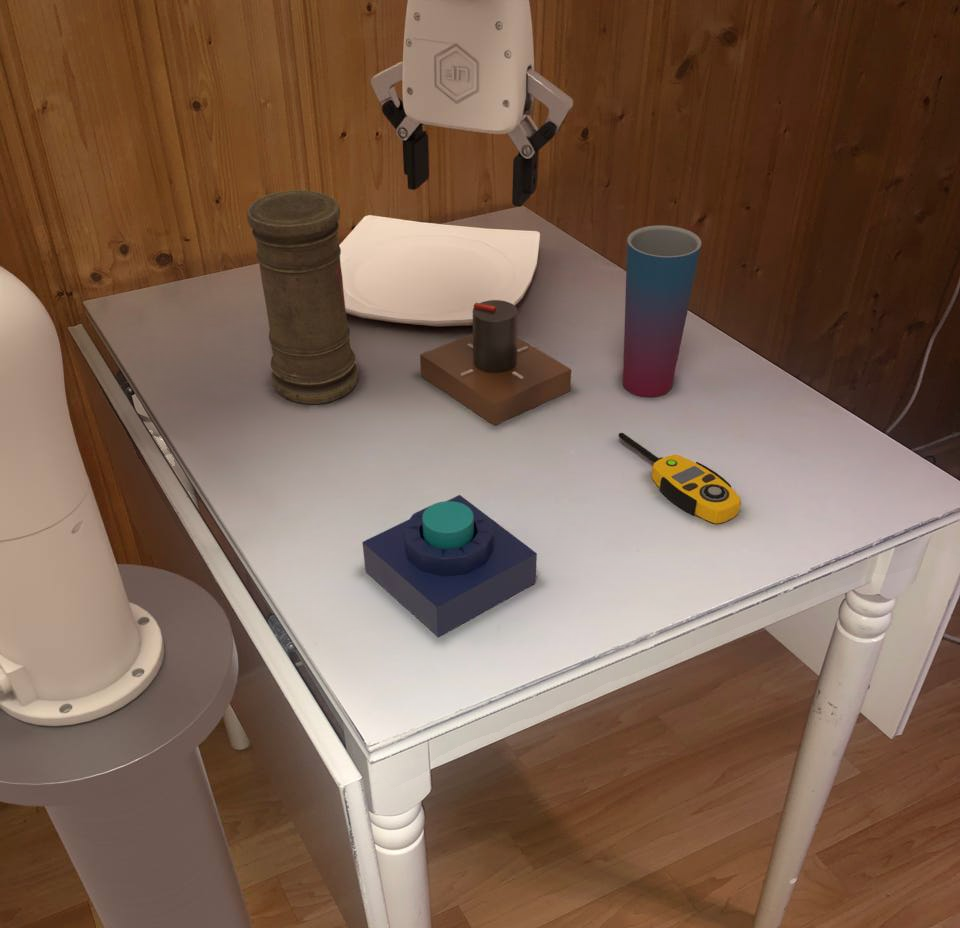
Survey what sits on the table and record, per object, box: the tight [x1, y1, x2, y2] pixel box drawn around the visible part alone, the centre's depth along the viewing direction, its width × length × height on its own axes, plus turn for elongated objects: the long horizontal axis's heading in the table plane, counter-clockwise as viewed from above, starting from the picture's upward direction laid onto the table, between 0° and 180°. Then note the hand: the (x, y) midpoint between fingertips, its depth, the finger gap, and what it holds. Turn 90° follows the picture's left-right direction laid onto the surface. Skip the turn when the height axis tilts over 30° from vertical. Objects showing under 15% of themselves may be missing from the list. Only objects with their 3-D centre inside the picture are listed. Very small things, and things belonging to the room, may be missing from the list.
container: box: [246, 189, 359, 405], centre depth 102 cm, size 9×9×18 cm
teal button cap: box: [422, 500, 474, 549], centre depth 83 cm, size 4×4×2 cm
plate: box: [339, 214, 541, 327], centre depth 123 cm, size 24×24×3 cm
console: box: [419, 332, 572, 426], centre depth 107 cm, size 10×12×3 cm
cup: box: [622, 224, 702, 398], centre depth 102 cm, size 7×7×15 cm
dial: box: [472, 300, 519, 372], centre depth 104 cm, size 4×4×6 cm
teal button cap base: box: [362, 494, 538, 638], centre depth 85 cm, size 10×10×5 cm
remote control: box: [618, 432, 742, 524], centre depth 95 cm, size 5×2×15 cm
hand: (469, 192), depth 91 cm, fingers open, 9 cm apart
